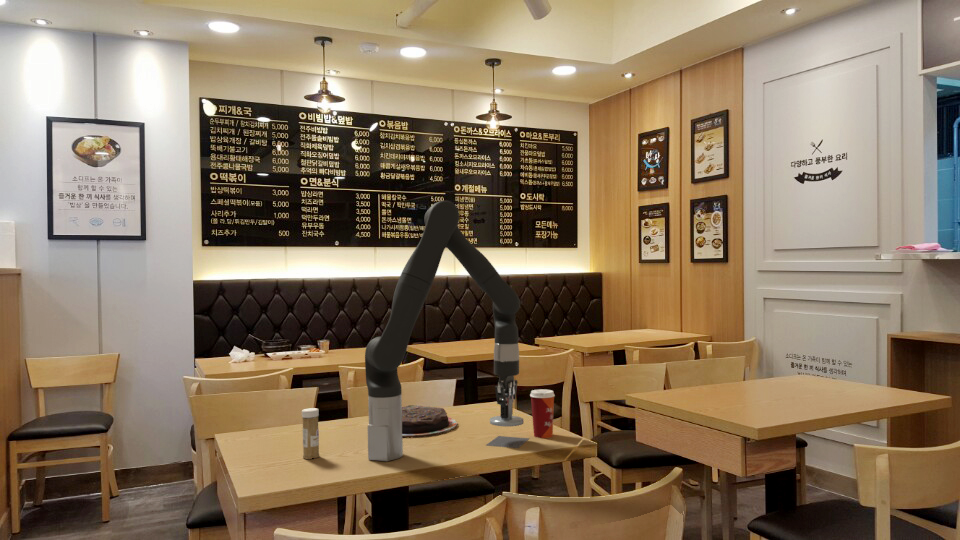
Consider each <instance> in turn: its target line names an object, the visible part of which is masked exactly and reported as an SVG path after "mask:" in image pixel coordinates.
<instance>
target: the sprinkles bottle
mask: <svg viewBox="0 0 960 540" xmlns="http://www.w3.org/2000/svg"><path fill="white" fill-rule="evenodd" d="M319 416H320V414H319V408H315V407H311V408H310V407H309V408H304V409H302V410H301V417H302V451H303V455H302V458H303V459H306V460H313V459H312V458H314V459H317V458H319V457H320V451H319V450H320V434H319V433H320V431H319Z"/></svg>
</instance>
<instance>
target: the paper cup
mask: <svg viewBox="0 0 960 540" xmlns="http://www.w3.org/2000/svg"><path fill="white" fill-rule="evenodd" d="M529 396H530V401H531V414H532V415H531V416H532V427H533V436H534V437H535V438H537V439H547V438H548V439H549V438H552V437H553V431H554V411H555V410H554V408H555V407H554V406H555V403H554V402H555V397H556V395H555V393H554V390H551V389H546V388H545V389H541V388H540V389H534V390H533V389H532V390H531V391H530V394H529Z"/></svg>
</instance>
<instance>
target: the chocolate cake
mask: <svg viewBox="0 0 960 540" xmlns="http://www.w3.org/2000/svg"><path fill="white" fill-rule="evenodd" d="M457 426H458V422H457V420H456V419H454V418H453V417H450V416H448V413H447V411H446V410H445V408H443V407H435V406H424V405H413V404H412V405H409V404H408V405H406V406H402V438H407V437H409V438H408V439H411V437H413V438H418V436H420V438H423V437H424V436H426V437H432V435H435V436H439V435H442V434H445V433H447V431H448V432H450V431H452V430H454V429H455V428H456V427H457ZM449 430H450V431H449ZM441 433H442V434H441ZM424 438H425V437H424Z"/></svg>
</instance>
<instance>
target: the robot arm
mask: <svg viewBox="0 0 960 540" xmlns="http://www.w3.org/2000/svg"><path fill="white" fill-rule="evenodd" d="M459 222H460V212H459V209H458V207H457V206H456V205H455V203H453V202H452V201H450V200H439V201H438V202H435V203H434V204H432V205H431V206H430V207H429V208H428V209H427V211H426V212H425V214H424V225H425V226H424V230H423V233H422V236H421V238H420V240H419V242H418V244H417V245H416V247H415V249H414V250H413V252H412V254H411V255H410V257H409V258H408V260H407V262H406V264H405V266H404V267H403V269H402V272H401V273H400V276H399V278H398V281H397V283H396V287H395V288H394V289H395V290H394V293H393V297H392V303H391V311H390V316H389V319H388V322H387V324H386V326H385V328H384V330H383V332H382V334H381V336H376V337H374V338H373V339H371V340H370V341H369V342H368V343H367V345H366V347H365V352H364V364H365V365H364V367H365V368H364V369H365V382H366V387H367V395H368V396H367V397H368V400H367V401H368V404H367V405H368V425H367V459H368V460H369V461H370V460H371V461H381V462H389V461H392V460H397V459H400V458H402V457H403V454H404V449H403V446H404V445H403V443H404V442H403V437H402V407H403V406H402V405H403V402H402V401H403V399H402V398H403V397H402V395H403V394H402V393H403V392H402V390H403V389H402V384H401V381H400V379H399V374H398V368H399V367H400V365H401V364H402V363H403V361H404V358H405V356H406V352H407V350H408V346H409V343H410V338H411V335H412V332H413V329H414V327H415V325H416V322H417V320H418V318H419V316H420V313H421V311H422V309H423V306H424V304H425V302H426V300H427V297H428V296H429V293H430V291H431V288H432V285H433V283H434V280H435V279H436V278H435V277H436V274H437V272H438V270H439V265H440V263H441V260H442V256H443V254H444V251H445V249H446V248H447V250H449V252H451V253H452V255H453V256H454V257H455V258H456V259H457V260H458V262H459V263H460V264H461V266H462V267H463V268H464V270H465V271H466V272H467V274H468V275H469V276H470V277H471V279H472V280H473V281H474V282H475V284H476V285H477V286H478V287H479V289H480V290H482V292H483V293H485V294H486V295H487V296H488V297H489V299H491V301H492V314H493V322H494V347H493V375H496V376H498V378H499V379H498V381H497V385H495V386H494V391H495V392H494V393H495V398H496V404H497V405H499V406H500V416H501V418H505V419H507V418H508V404H509V403H508V402H509V398H512V415H513V408H514V407H513V406H514V405H513V403H514V402H515V400H516V397H517V389H518V380H516V379H515V376H518V375H519V374H520V348H519V328H518V325H517V324H516V323H517V322H516V313H518V312H519V309H520V308H521V300H520V298H519V297H520V296H519V295H518V294H517V293H516V292H515V290H514V289H513V288H512V287H511V286H510V285H509V284H508V283H507V282H506V281H505V280H504V279H503V278H502V276H500V274H499V272H498V271H497V269H496V268H495V267H494V265H493V264H492V263H491V261H489V259H488V258H487V257H486V256H485V255H484V254H483V253H482V252H481V251H480V250H479V249H477V247H475V246H474V245H473V244H472V243H471V242H470V241H469V240H468V239H467V238H466V236H465V235H464V234H463V232H462V231H461V229H460V228H459ZM502 398H503V400H502Z"/></svg>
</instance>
